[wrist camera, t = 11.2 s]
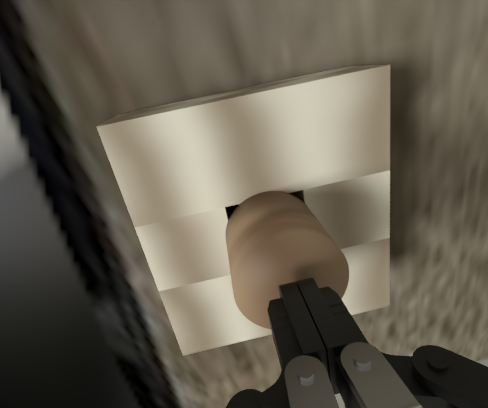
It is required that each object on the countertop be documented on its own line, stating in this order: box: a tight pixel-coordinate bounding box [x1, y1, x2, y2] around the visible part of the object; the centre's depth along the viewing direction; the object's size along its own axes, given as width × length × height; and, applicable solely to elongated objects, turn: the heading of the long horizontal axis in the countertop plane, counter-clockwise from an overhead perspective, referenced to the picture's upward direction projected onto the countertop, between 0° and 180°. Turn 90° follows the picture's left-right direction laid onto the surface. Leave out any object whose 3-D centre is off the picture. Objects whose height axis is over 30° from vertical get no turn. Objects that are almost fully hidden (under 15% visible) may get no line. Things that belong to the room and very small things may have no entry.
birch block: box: [97, 65, 390, 355], centre depth 21 cm, size 15×16×5 cm
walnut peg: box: [226, 191, 349, 329], centre depth 19 cm, size 5×5×10 cm
